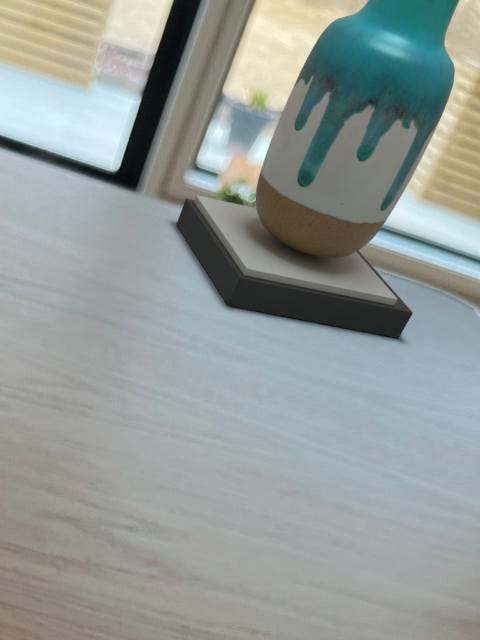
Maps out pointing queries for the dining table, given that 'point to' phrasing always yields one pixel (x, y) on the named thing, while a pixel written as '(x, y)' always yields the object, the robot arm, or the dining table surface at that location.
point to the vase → (356, 126)
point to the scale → (287, 272)
